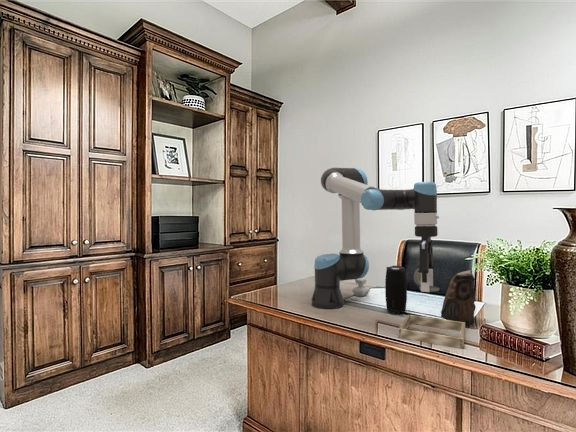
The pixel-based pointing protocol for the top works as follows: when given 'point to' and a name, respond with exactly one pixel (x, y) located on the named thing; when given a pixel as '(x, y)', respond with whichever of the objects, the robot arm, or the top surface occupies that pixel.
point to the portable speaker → (396, 289)
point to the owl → (460, 299)
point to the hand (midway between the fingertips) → (427, 288)
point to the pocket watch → (416, 276)
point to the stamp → (360, 288)
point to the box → (430, 336)
